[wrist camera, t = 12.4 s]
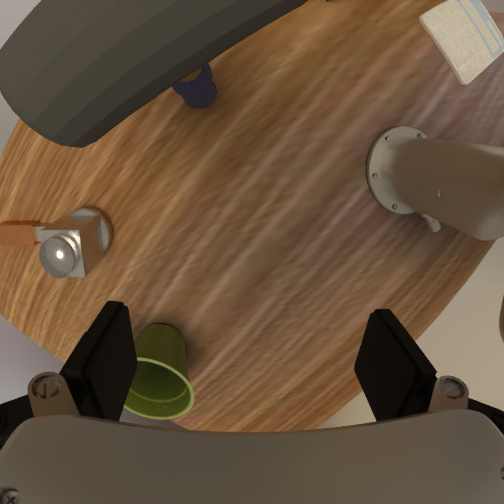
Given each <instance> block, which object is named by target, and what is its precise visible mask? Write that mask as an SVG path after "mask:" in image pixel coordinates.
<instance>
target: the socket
mask: <svg viewBox="0 0 504 504" xmlns="http://www.w3.org/2000/svg"><path fill="white" fill-rule="evenodd" d="M40 234H41V241H42V245H41V247H40V251H39V257H40V262H41V264H42V266H43V268H44V269H45V271H46V272H47V275H51V276H53V277H55V278H64V277H66V276H73V277H86V276H87V275H88V274H89V273H90V271H91V270H92V269H93V268H94V267H95V266H96V265H97V264H98V263H99V262H100V260H101V259H102V258H103V257H104V249H103V239H102V228H101V215H82V216H64V217H62V218H60V219H58V220H57V221H55V222H53V223H51V224H50V225H48V226H46V227H44V228H43V229H41V230H40Z"/></svg>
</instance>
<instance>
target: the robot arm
mask: <svg viewBox="0 0 504 504" xmlns="http://www.w3.org/2000/svg"><path fill="white" fill-rule="evenodd" d="M385 137H386V140H385ZM372 174H373V177H372ZM367 179H368V184H369V187H370V190H371V192H372V194H373V195H374V197H375V199H376V200H377V201H378V202H379V203H380V204H381V205H382V206H383V207H384V208H386V209H388V210H390V211H392V212H395V213H397V214H411V213H414V212H418V213H419V214H420V216H421V217H424V218H425V220H426V223H427V225H428V227H429V229H430V231H431V232H437V231H438V230H440V228H441V224H440V222H439V221H441V222H443V223H445V224H447V225H449V226H451V227H453V228H455V229H457V230H459V231H461V232H463V233H465V234H467V235H469V236H471V237H473V238H476V239H479V240H495V239H498V238H501V237H503V236H504V147H499V146H491V145H484V144H476V143H468V142H460V141H450V140H440V139H429V138H428V137H427V136H426V135H425V134H424V133H422V132H421V131H420V130H418V129H415V128H413V127H408V126H398V127H393V128H390V129H388V130H386V131H385V132H383V133H382V134H381V135H380V136H379V137H378V138H377V139H376V140H375V142H374V143H373V145H372V147H371V149H370V152H369V155H368V159H367ZM392 205H393V206H392ZM499 329H500V335H501V337H502V340H503V342H504V297H503V301H502V306H501V311H500V318H499ZM137 365H138V361H137V356H136V350H135V345H134V340H133V334H132V329H131V323H130V316H129V310H128V307H127V306H124V304H123V302H118V301H107V303H106V304H105V305H104V307H103V308H102V310H101V311H100V313H99V314H98V316H97V317H96V319H95V320H94V322H93V323H92V325H91V326H90V328H89V329H88V331H87V332H85V333H84V335H83V336H82V338H81V339H80V341H79V342H78V344H77V345H76V347H75V349H74V350H73V352H72V353H71V355H70V356H69V358H68V360H67V361H66V363H65V365H64V366H63V368H62V370H61V371H60V373H55V372H44V373H41V374H38V375H36V376H35V377H34V378H32V380H31V381H30V383H29V385H28V394H27V395H25V396H22V397H19V398H17V399H14V400H11V401H8V402H5V403H3V404H0V504H504V412H503V411H501V410H499V409H497V408H494V407H491V406H489V405H486V404H483V403H481V402H478V401H476V400H473V399H470V398H468V395H469V391H468V388H467V386H466V384H465V383H464V382H462V381H461V380H460V379H458V378H456V377H453V376H442V377H440V378H439V379H437V377H436V376H435V374H436V373H437V371H436V370H435V368H434V367H433V365H432V364H431V363H430V361H429V360H428V359H427V357H426V356H425V355H424V353H423V352H422V350H421V349H420V348H419V346H418V345H417V344H416V342H415V341H414V340H413V338H412V337H411V336H410V335H409V333H408V332H407V331H406V329H405V328H404V327H403V325H402V324H401V323H400V322H399V320H398V319H397V318H396V316H395V315H394V314H393V313H392V311H391V310H390V309H376V310H375V311H374V312H373V313H371V314H370V316H369V319H368V323H367V326H366V330H365V333H364V337H363V340H362V343H361V346H360V350H359V353H358V356H357V359H356V362H355V366H354V370H355V373H356V376H357V378H358V380H359V382H360V385H361V387H362V389H363V391H364V394H365V396H366V398H367V400H368V403H369V405H370V407H371V409H372V412H373V414H374V416H375V419H376V421H377V422H371V423H364V424H358V425H350V426H342V427H334V428H324V429H313V430H299V431H281V432H217V431H198V430H185V429H174V428H164V427H156V426H148V425H140V424H132V423H126V422H119V419H120V416H121V413H122V410H123V407H124V404H125V401H126V398H127V395H128V392H129V389H130V387H131V384H132V381H133V378H134V375H135V373H136V370H137Z"/></svg>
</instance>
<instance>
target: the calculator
mask: <svg viewBox="0 0 504 504" xmlns="http://www.w3.org/2000/svg"><path fill="white" fill-rule="evenodd" d="M449 3H450V4H449ZM418 19H419V22H420V23H421V25H422V26H423V28H424V29H425V31H426V32H427V33H428V35H429V36H430V37H431V39H432V40H433V42H434V43H435V45H436V46H437V48H438V49H439V51H440V52H441V54H442V55H443V57H444V58H445V60H446V61H447V63H448V65H449V66H450V68H451V69H452V71H453V73H454V74H455V76H456V78H457V79H458V81H459V82H460V84H462V85H467V84H469V83H470V82H471V81H472V80H473V79H474V78H475V77H477V76H478V75H479V74H480V73H481V72H482V71H483V70H484V69H485V68H486V67H487V66H489V65H490V64H491V63H492V62H493V61H494V60H495V59H496V58H497V57H498V56H499V55H500V54H501V53H503V52H504V38H503V36H502V34H501V33H500V31H499V29H498V27H497V26H496V24H495V23H494V21H493V19H492V18H491V16H490V15H489V13H488V11H487V10H486V8H485V7H484V5H483V4H482V3H481V1H480V0H447V1H445V2H443V3H441V4H439V5H437V6H435V7H434V8H432V9H430V10H428V11H427V12H425V13H423V14H422V15H420V16H419V18H418ZM442 25H443V26H442ZM448 36H449V37H448ZM451 38H452V39H451ZM450 54H451V55H450Z"/></svg>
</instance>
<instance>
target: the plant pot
mask: <svg viewBox="0 0 504 504" xmlns="http://www.w3.org/2000/svg"><path fill="white" fill-rule="evenodd" d="M134 345H135V350H136V356H137V361H138V365H137V370H136V373H135V375H134V378H133V381H132V384H131V387H130V389H129V392H128V395H127V398H126V401H125V404H124V408H126V409H127V410H129V411H131V412H133V413H135V414H138V415H140V416H143V417H148V418H151V419H172V418H176V417H179V416H181V415H183V414H185V413H187V412H188V411H189V410H190V409H191V407H192V406H193V403H194V397H195V396H194V390H193V388H192V386H191V384H190V382H189V378H188V375H187V363H186V349H185V341H184V338H183V337H182V335H181V334H180V332H179V331H177V330H176V329H175V328H173V327H171V326H169V325H162V324H152V325H149V326H147V327H146V328H144V330H143V331H142V332H141V333H140V335H139V336H138V338H137V339H136V340H135V342H134Z"/></svg>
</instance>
